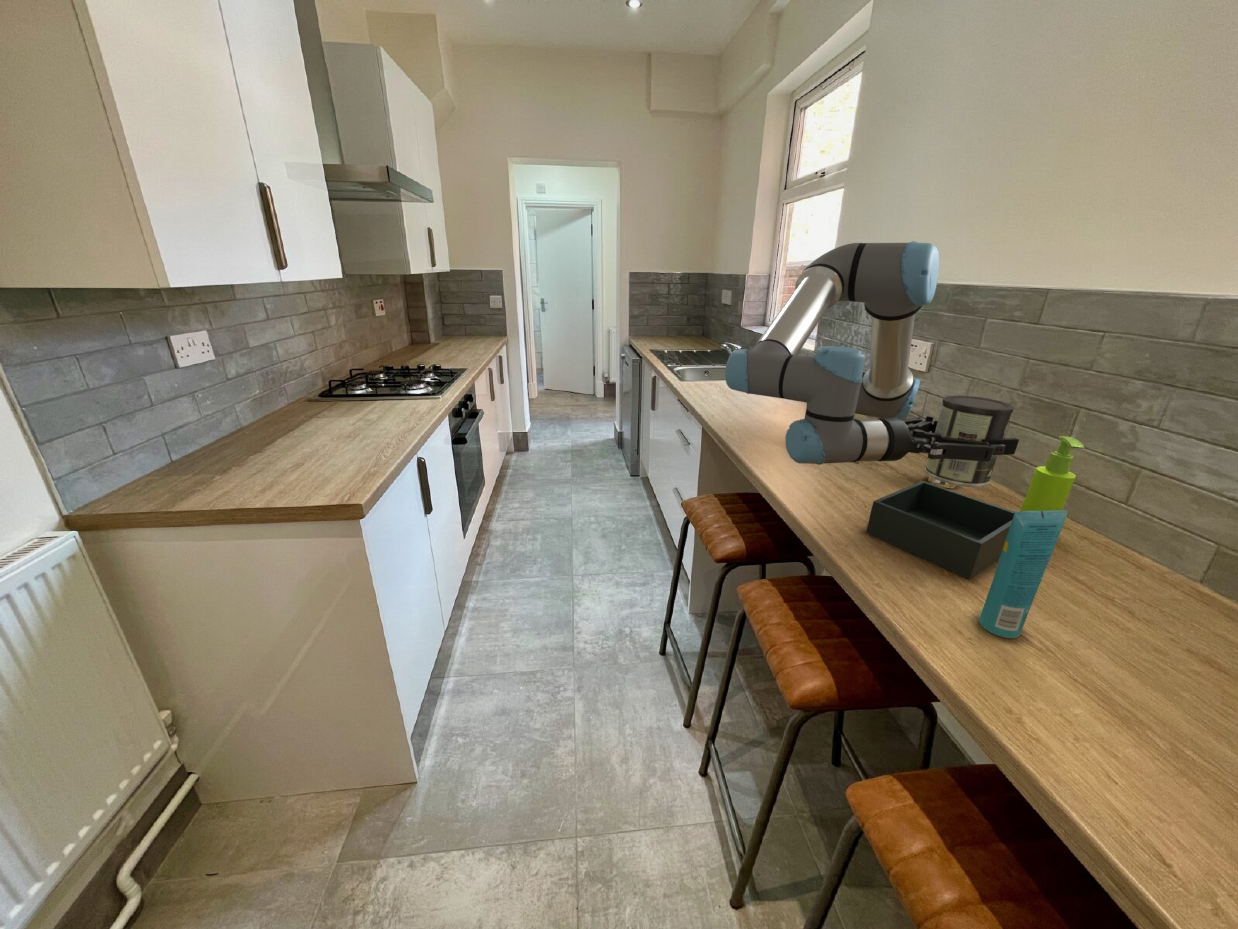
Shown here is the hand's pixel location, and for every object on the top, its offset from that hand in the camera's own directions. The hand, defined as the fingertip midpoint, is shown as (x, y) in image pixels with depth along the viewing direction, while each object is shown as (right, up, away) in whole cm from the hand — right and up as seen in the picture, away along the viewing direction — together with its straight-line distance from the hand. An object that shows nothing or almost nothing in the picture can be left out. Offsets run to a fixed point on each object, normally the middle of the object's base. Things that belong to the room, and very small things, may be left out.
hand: (988, 436), depth 88 cm
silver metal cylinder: (+13, -10, +32) cm, 36 cm away
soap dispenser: (+17, -19, +10) cm, 27 cm away
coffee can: (-4, -7, +2) cm, 9 cm away
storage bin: (-5, -20, +7) cm, 21 cm away
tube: (-11, -29, -16) cm, 35 cm away
